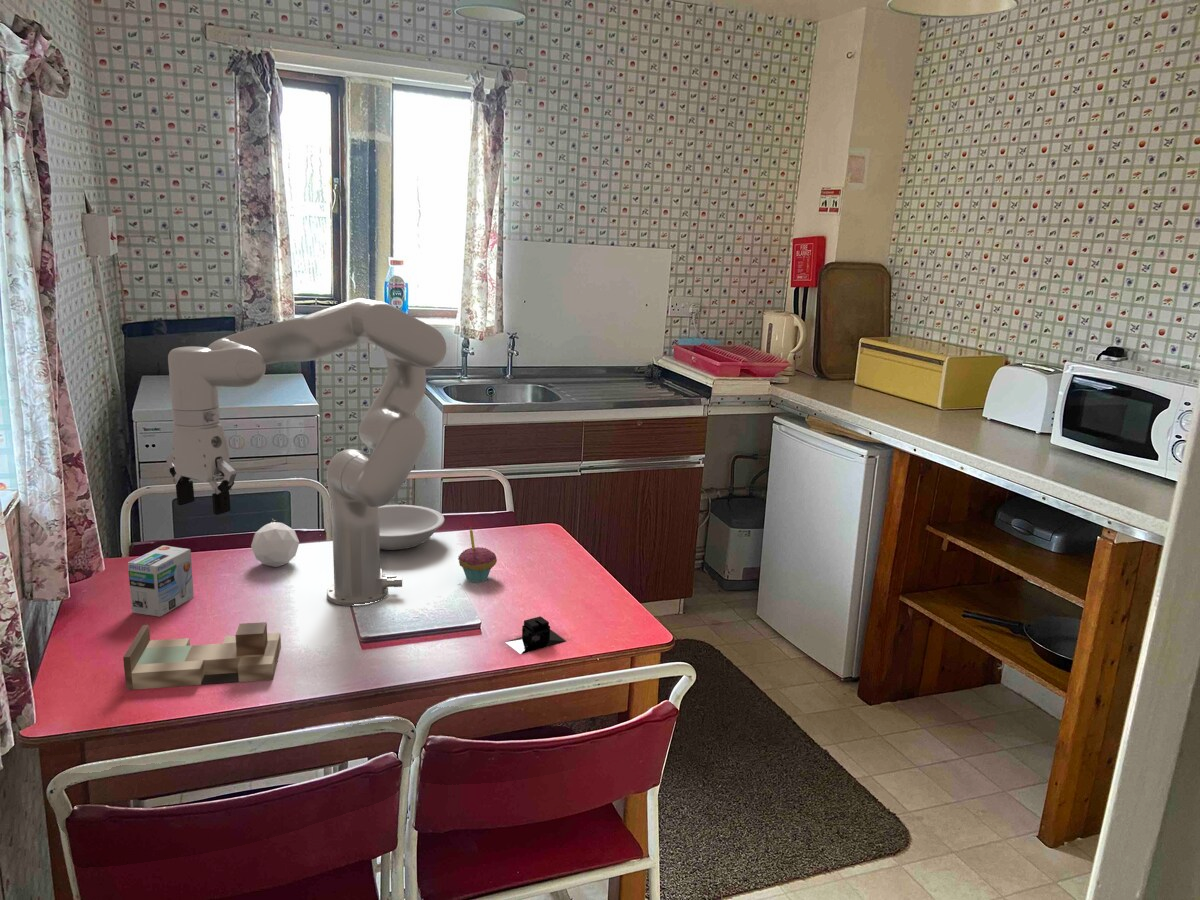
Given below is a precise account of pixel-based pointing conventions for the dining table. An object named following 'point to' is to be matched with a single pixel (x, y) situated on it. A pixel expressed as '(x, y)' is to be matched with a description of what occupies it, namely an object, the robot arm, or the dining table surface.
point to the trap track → (194, 662)
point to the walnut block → (251, 639)
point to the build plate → (535, 636)
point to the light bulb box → (160, 580)
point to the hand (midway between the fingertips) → (203, 508)
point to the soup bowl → (407, 525)
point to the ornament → (275, 544)
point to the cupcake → (477, 562)
